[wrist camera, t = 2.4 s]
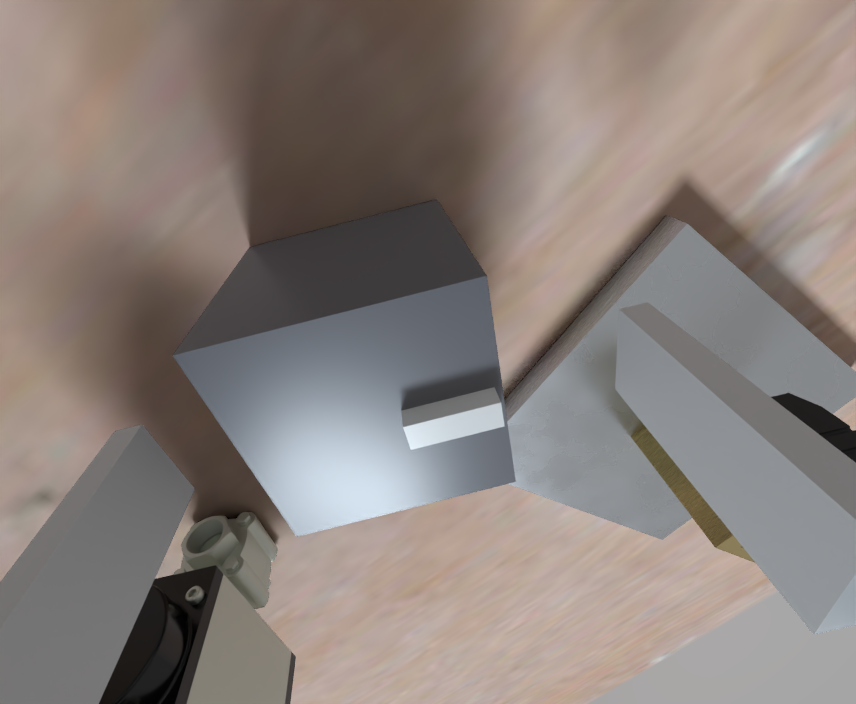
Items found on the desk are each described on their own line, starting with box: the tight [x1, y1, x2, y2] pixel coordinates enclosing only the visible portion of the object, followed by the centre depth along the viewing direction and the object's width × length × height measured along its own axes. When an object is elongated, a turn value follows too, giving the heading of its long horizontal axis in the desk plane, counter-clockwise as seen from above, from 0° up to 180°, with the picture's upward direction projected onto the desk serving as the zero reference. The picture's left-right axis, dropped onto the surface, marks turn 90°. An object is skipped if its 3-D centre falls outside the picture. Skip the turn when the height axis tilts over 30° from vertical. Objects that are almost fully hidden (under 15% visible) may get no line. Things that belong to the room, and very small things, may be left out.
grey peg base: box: [504, 215, 856, 562], centre depth 19 cm, size 16×14×7 cm
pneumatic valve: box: [99, 512, 296, 704], centre depth 18 cm, size 6×12×12 cm, turn 10°
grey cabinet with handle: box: [172, 200, 516, 537], centre depth 13 cm, size 7×7×8 cm
